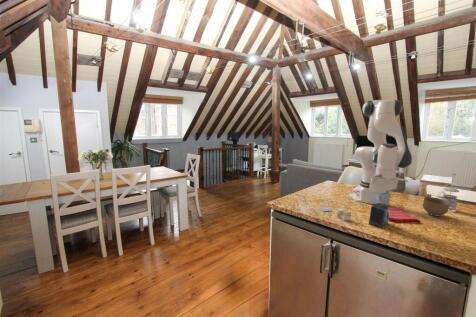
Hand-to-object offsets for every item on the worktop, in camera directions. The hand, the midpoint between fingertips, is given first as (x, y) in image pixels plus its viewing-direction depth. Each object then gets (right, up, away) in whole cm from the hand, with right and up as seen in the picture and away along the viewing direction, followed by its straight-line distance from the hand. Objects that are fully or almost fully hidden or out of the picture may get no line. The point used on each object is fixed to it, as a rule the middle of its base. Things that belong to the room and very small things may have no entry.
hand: (381, 198), depth 129 cm
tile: (-23, -11, +21) cm, 33 cm away
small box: (0, -15, +2) cm, 15 cm away
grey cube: (0, -2, 0) cm, 2 cm away
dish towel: (+18, -14, +17) cm, 28 cm away
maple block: (-17, -13, +8) cm, 23 cm away
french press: (+61, -13, +30) cm, 69 cm away
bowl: (+44, -14, +18) cm, 49 cm away
